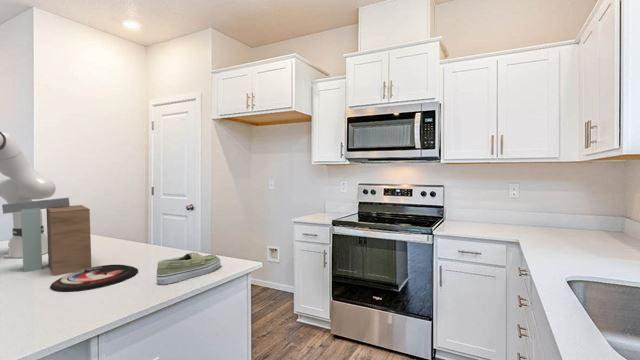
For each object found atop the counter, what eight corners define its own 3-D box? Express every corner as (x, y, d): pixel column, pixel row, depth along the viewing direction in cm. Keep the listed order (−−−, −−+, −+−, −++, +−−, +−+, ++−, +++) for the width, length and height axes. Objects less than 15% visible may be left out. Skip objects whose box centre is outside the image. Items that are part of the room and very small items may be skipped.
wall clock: (83, 303, 113) (154, 271, 141) (82, 290, 113) (153, 260, 141) (32, 293, 122) (108, 265, 150) (30, 281, 122) (107, 255, 150)
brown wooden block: (48, 264, 151) (46, 207, 150) (83, 259, 160) (81, 205, 159) (53, 275, 135) (50, 211, 134) (91, 268, 144) (89, 208, 143)
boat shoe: (227, 267, 145) (226, 247, 145) (168, 288, 120) (168, 264, 120) (210, 264, 150) (210, 244, 150) (151, 283, 125) (150, 260, 125)
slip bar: (4, 212, 140) (3, 204, 140) (69, 205, 153) (68, 197, 153) (3, 213, 137) (2, 205, 137) (69, 205, 151) (68, 197, 150)
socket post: (23, 268, 146) (20, 207, 145) (41, 265, 150) (38, 206, 149) (23, 272, 140) (21, 209, 139) (42, 269, 144) (40, 208, 143)
